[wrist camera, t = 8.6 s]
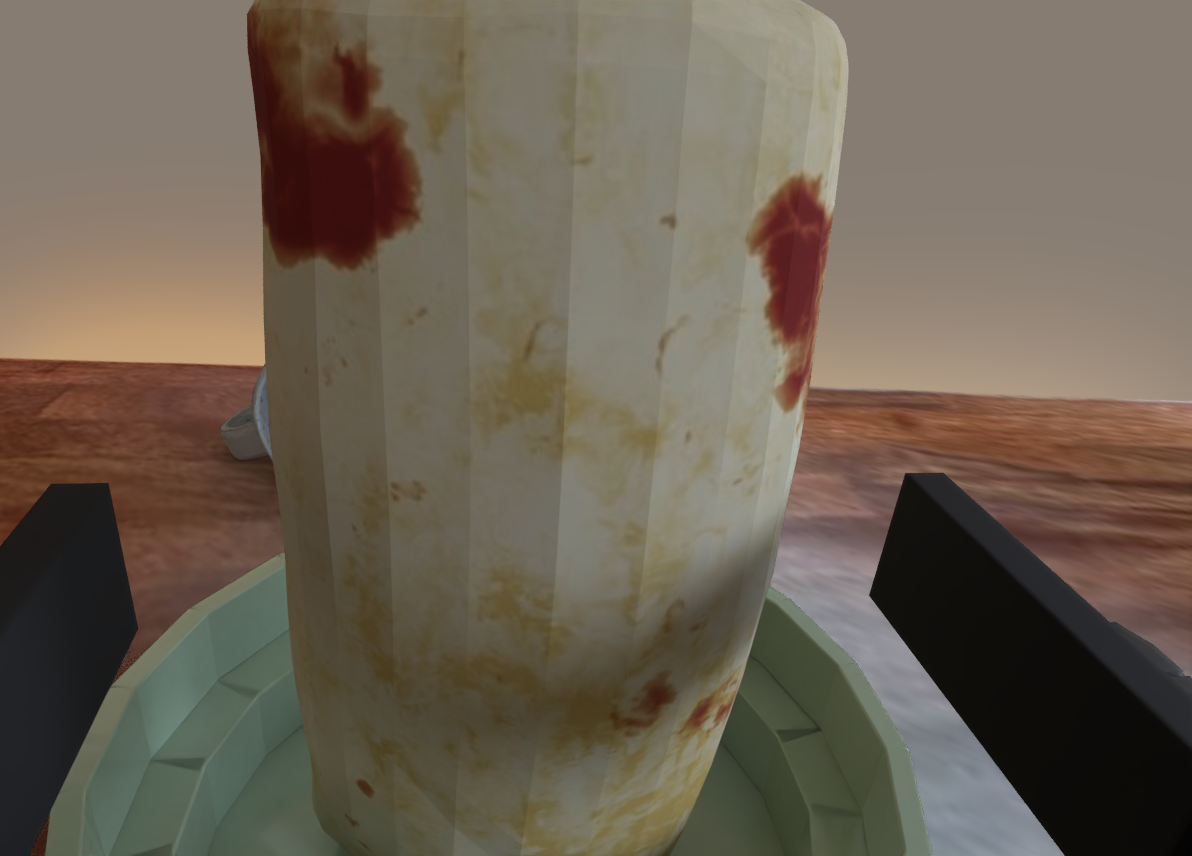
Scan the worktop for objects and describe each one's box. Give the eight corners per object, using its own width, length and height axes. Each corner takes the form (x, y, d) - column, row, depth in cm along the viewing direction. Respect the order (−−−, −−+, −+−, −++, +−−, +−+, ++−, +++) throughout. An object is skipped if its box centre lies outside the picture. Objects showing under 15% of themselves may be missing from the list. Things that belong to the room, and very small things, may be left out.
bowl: (334, 586, 30) (327, 469, 28) (833, 680, 28) (867, 561, 26) (-160, 1226, 14) (-274, 1065, 11) (947, 1570, 12) (1069, 1454, 9)
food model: (257, 951, 18) (89, -134, 9) (367, 722, 24) (329, -64, 15) (698, 1027, 17) (974, -54, 8) (697, 773, 23) (858, -14, 14)
